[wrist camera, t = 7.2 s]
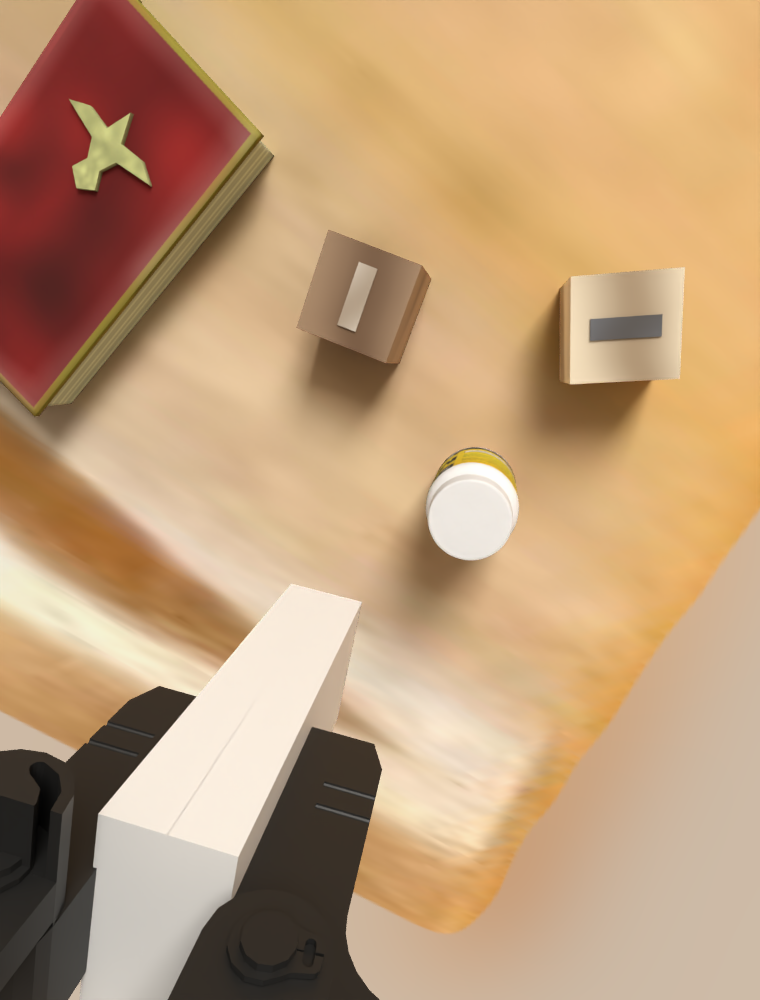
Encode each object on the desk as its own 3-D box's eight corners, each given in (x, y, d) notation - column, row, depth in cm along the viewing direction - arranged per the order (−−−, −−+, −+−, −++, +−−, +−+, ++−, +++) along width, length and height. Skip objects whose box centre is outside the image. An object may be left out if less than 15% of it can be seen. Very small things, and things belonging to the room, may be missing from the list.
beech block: (559, 381, 35) (570, 384, 30) (559, 288, 34) (571, 276, 29) (653, 376, 34) (680, 378, 29) (656, 281, 33) (685, 267, 28)
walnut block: (322, 332, 36) (295, 327, 32) (350, 248, 35) (327, 229, 30) (399, 363, 36) (385, 363, 31) (431, 278, 35) (421, 265, 30)
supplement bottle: (449, 436, 36) (437, 456, 28) (526, 459, 36) (536, 487, 28) (425, 510, 38) (407, 550, 30) (500, 534, 37) (502, 582, 29)
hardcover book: (-52, 278, 40) (-112, 268, 36) (139, -2, 35) (92, -50, 31) (76, 411, 41) (31, 416, 37) (286, 157, 35) (259, 131, 31)
